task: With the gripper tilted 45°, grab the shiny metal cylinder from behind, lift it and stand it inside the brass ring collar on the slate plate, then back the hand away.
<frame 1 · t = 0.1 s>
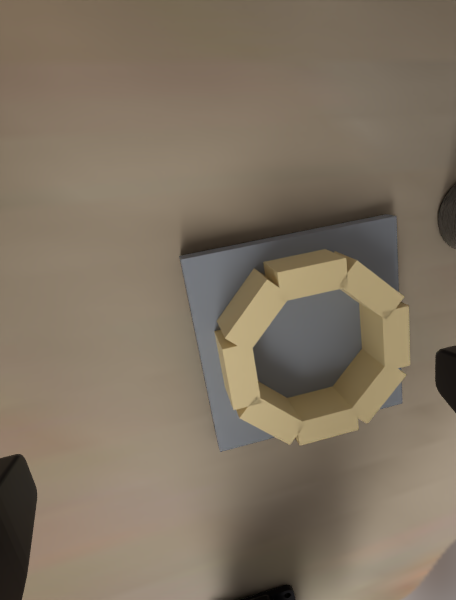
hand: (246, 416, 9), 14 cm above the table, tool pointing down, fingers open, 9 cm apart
nut plate: (298, 333, 25), on the table
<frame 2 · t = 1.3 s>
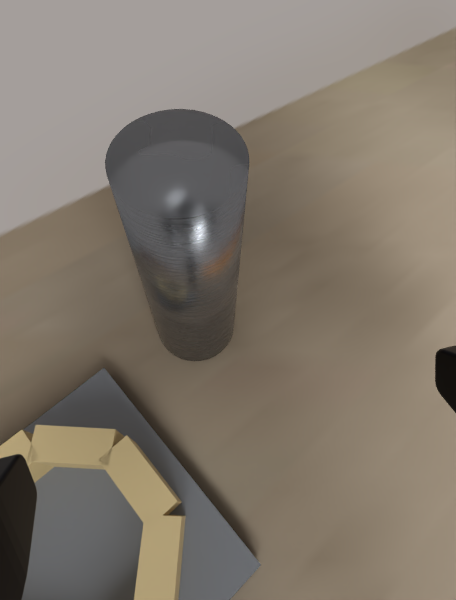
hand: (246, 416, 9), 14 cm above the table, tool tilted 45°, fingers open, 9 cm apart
shiny metal cylinder: (196, 325, 24), on the table
nut plate: (75, 551, 19), on the table
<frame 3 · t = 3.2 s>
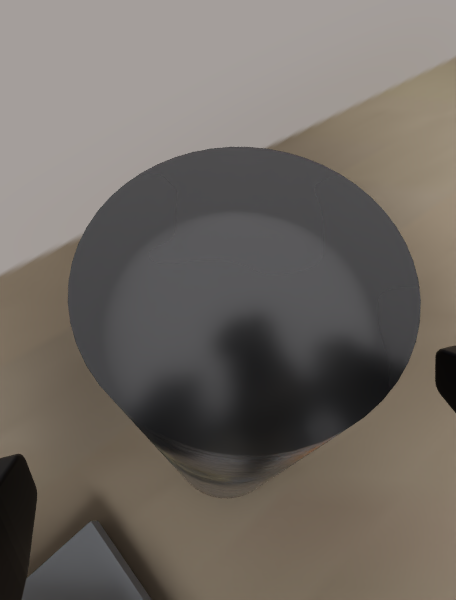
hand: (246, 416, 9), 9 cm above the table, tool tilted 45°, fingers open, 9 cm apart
shiny metal cylinder: (226, 438, 17), on the table
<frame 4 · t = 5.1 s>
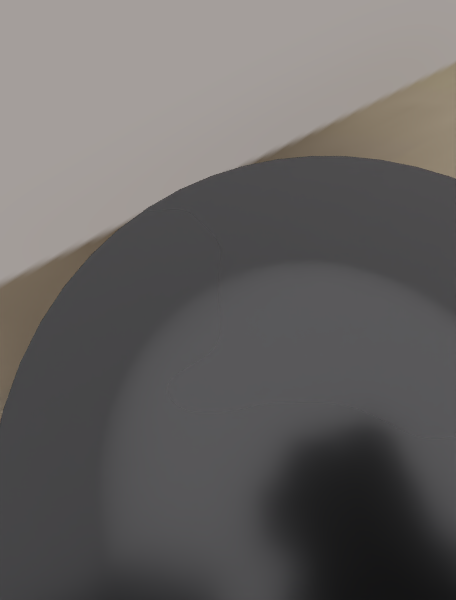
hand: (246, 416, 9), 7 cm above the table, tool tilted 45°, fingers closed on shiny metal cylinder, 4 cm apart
shiny metal cylinder: (244, 495, 14), on the table, touching gripper
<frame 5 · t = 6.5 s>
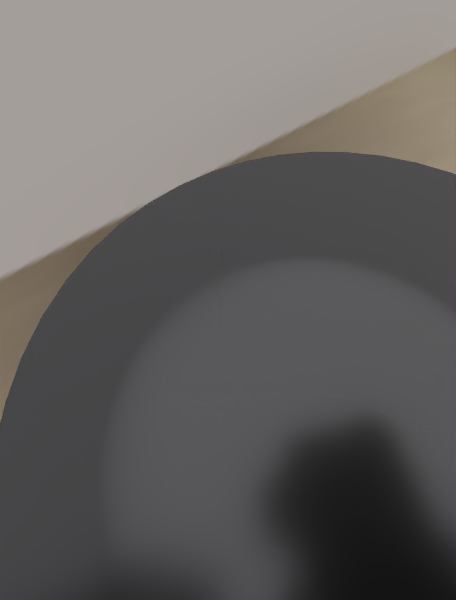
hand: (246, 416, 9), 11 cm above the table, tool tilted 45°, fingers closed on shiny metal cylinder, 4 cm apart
shiny metal cylinder: (244, 494, 14), point 4 cm above the table, touching gripper
when the fingers open (8 cm above the table, at t = 8.4 s): shiny metal cylinder stays where it is, resting on nut plate.
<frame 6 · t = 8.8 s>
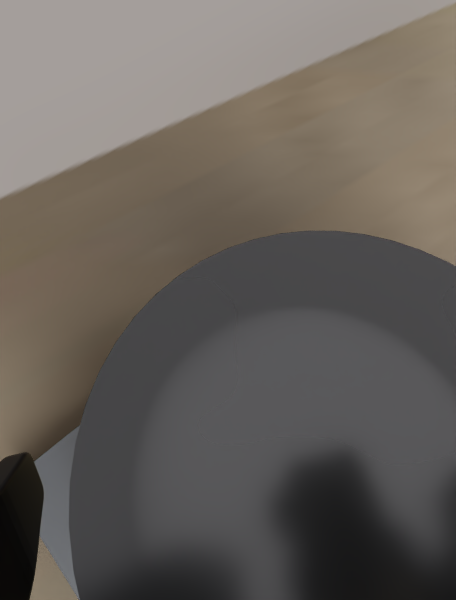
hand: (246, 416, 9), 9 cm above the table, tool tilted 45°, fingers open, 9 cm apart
shiny metal cylinder: (242, 498, 15), point 1 cm above the table, touching nut plate
nut plate: (241, 497, 16), on the table
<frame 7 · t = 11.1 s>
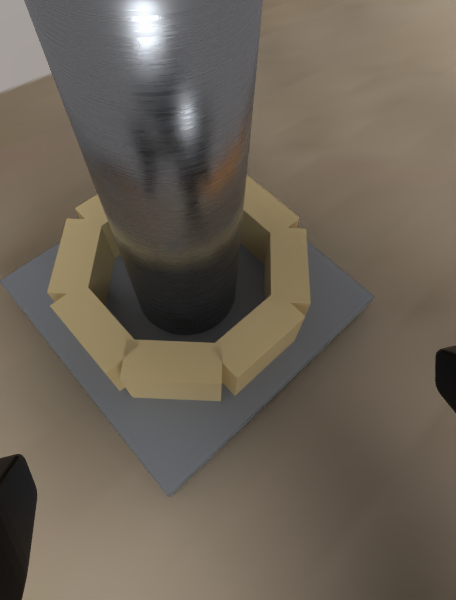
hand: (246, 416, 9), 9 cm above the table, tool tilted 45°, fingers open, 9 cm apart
shiny metal cylinder: (187, 289, 19), point 1 cm above the table, touching nut plate
nut plate: (188, 298, 20), on the table
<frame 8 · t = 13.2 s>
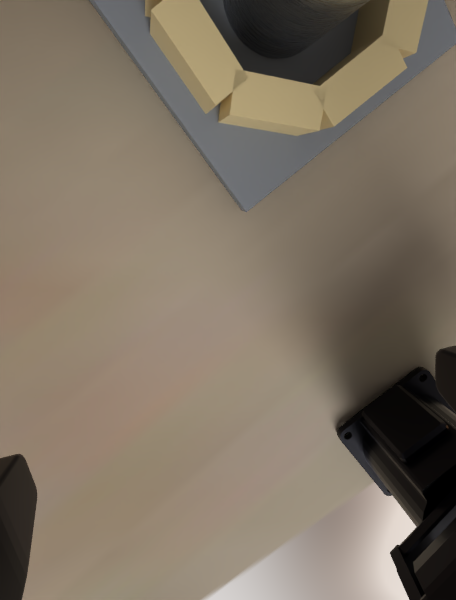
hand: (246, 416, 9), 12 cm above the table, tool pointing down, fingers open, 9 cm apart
nut plate: (270, 3, 17), on the table
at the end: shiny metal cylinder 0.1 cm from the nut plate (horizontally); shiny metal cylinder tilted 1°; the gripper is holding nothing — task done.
